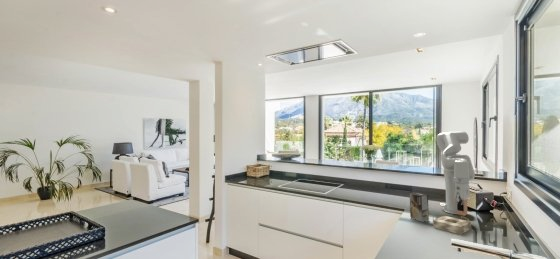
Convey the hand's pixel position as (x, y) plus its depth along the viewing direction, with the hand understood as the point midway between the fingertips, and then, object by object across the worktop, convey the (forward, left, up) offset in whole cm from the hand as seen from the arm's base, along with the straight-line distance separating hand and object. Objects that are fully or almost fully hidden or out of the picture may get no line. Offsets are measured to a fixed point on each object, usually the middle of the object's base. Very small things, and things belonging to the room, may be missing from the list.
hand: (462, 209), depth 156 cm
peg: (0, 0, -3) cm, 3 cm away
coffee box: (-18, -16, -8) cm, 25 cm away
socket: (+1, -16, -8) cm, 18 cm away
